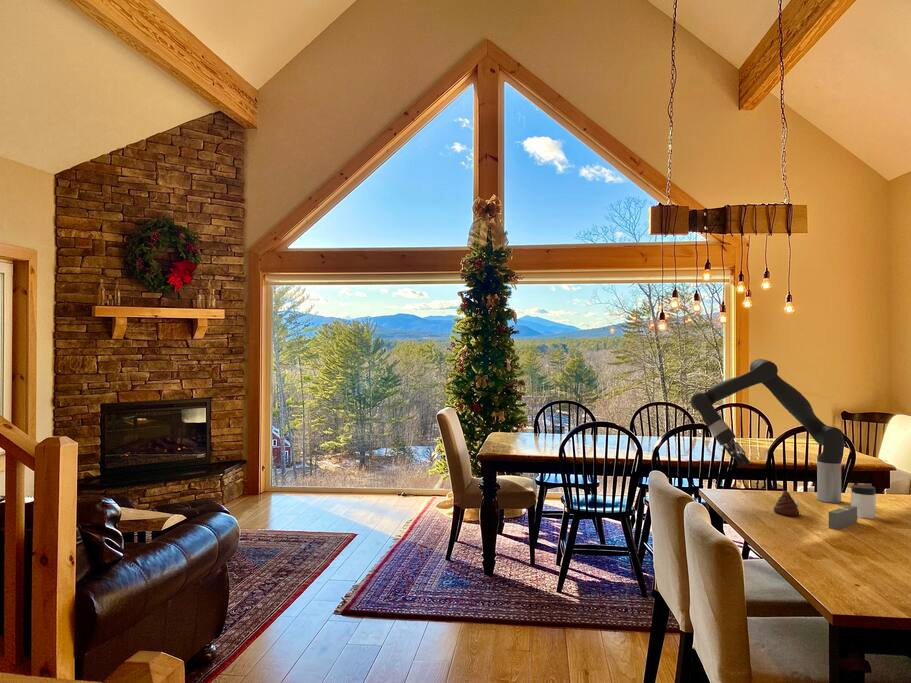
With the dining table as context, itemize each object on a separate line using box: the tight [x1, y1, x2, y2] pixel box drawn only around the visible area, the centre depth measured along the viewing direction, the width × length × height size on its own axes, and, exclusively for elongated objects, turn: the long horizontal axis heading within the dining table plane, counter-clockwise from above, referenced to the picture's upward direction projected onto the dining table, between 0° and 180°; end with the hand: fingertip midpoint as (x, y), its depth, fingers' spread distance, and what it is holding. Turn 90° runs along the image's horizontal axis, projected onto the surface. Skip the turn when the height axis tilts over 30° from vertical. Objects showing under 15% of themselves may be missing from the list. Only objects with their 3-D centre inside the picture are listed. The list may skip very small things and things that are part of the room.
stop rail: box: [828, 505, 858, 531], centre depth 239 cm, size 18×3×6 cm, turn 127°
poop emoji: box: [773, 490, 800, 517], centre depth 255 cm, size 10×8×9 cm
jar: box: [850, 484, 877, 520], centre depth 253 cm, size 9×8×12 cm
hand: (745, 464), depth 268 cm, fingers open, 8 cm apart
